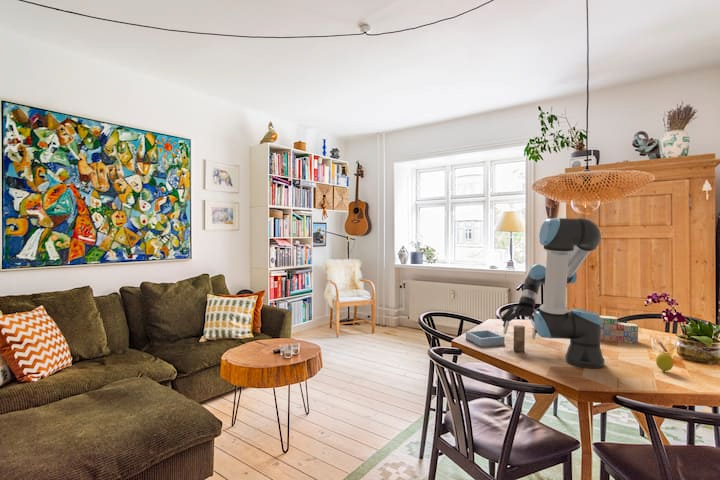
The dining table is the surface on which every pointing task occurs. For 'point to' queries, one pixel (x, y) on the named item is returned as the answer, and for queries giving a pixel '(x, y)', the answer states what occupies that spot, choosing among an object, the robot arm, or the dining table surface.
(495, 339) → the bin
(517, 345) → the brown rectangular block
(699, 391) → the dining table surface
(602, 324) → the stack of blocks
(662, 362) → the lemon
